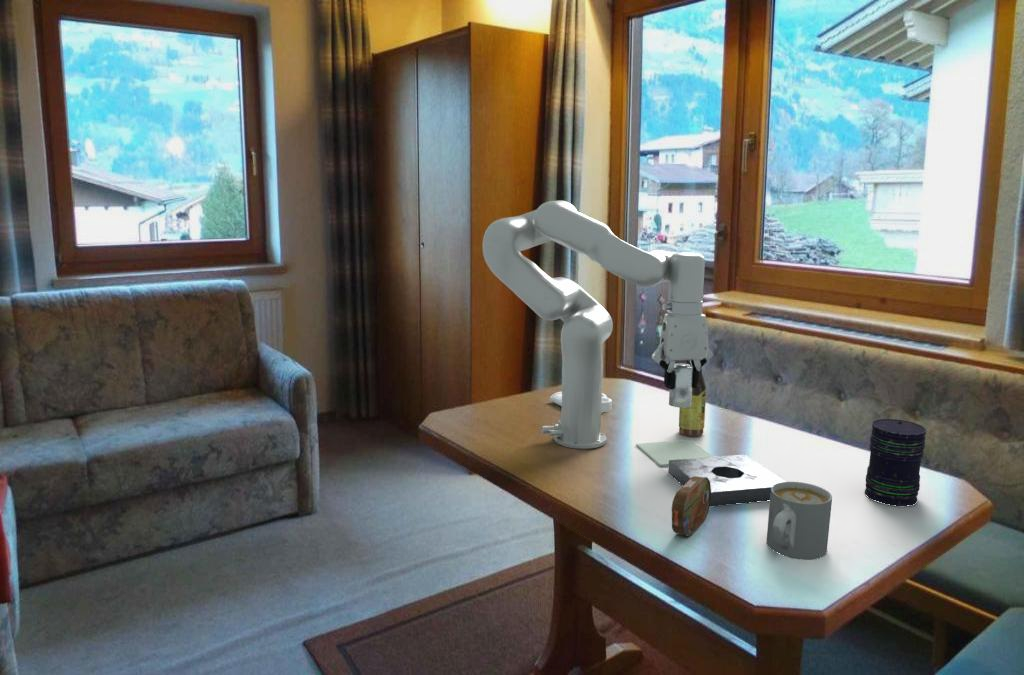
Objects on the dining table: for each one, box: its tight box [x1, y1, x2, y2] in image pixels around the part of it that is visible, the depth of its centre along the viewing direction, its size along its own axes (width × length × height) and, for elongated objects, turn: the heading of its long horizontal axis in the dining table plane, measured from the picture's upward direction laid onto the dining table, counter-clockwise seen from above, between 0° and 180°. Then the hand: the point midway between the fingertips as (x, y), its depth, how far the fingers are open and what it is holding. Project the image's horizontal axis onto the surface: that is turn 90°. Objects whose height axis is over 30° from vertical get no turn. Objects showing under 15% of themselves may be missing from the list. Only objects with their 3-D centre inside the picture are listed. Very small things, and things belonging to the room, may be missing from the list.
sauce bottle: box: [678, 360, 707, 437], centre depth 196 cm, size 6×6×20 cm
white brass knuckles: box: [549, 391, 613, 414], centre depth 221 cm, size 3×18×15 cm
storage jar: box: [864, 418, 927, 507], centre depth 159 cm, size 10×10×15 cm
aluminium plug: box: [668, 363, 693, 409], centre depth 180 cm, size 5×5×9 cm
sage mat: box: [635, 439, 714, 468], centre depth 183 cm, size 14×14×1 cm
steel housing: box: [667, 454, 786, 507], centre depth 164 cm, size 18×18×3 cm
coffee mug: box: [766, 481, 833, 561], centre depth 136 cm, size 13×10×10 cm
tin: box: [671, 476, 711, 537], centre depth 145 cm, size 15×3×8 cm, turn 148°
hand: (680, 386), depth 180 cm, fingers closed on aluminium plug, 5 cm apart
